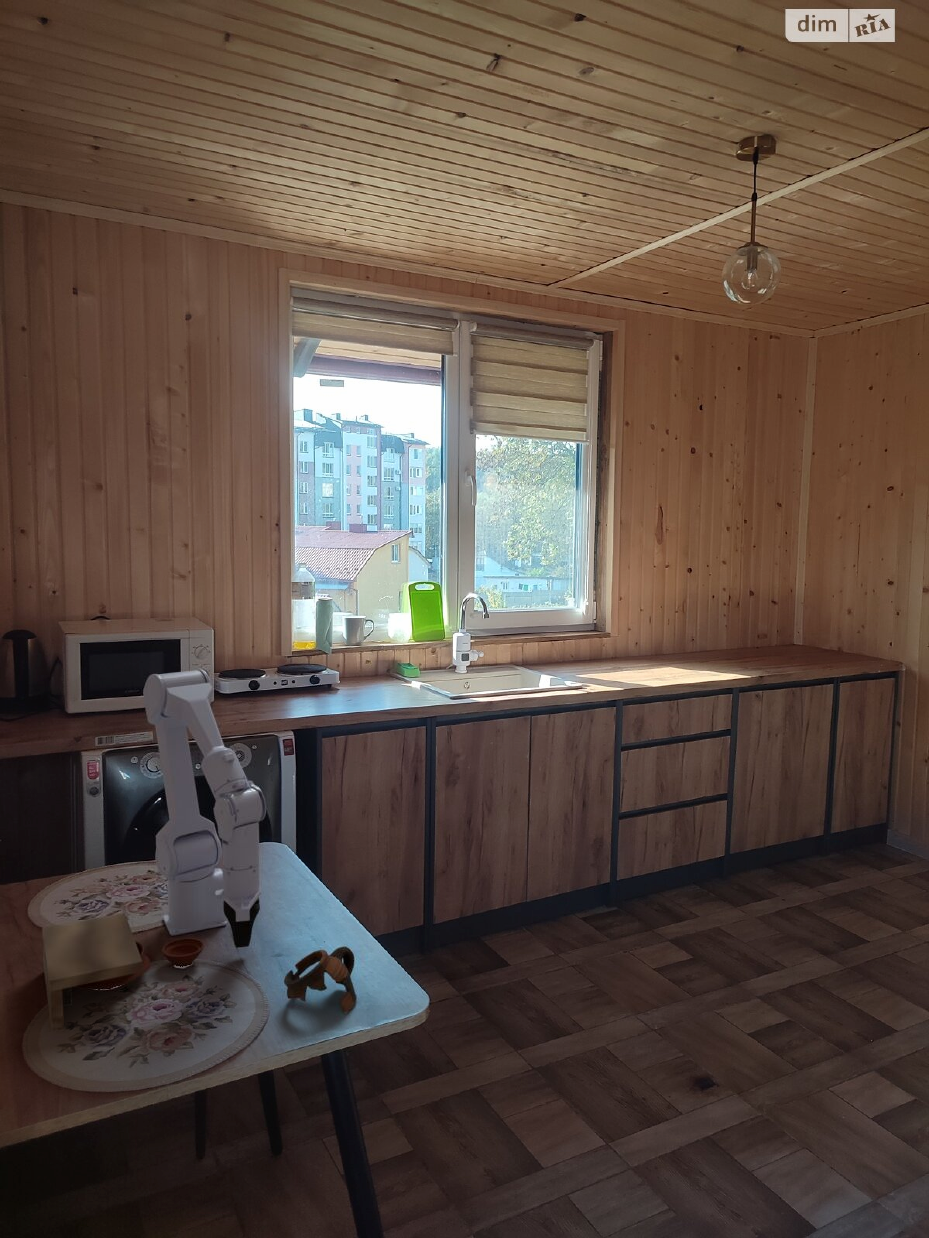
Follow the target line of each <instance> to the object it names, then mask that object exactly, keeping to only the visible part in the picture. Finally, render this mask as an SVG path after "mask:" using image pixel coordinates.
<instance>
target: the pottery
mask: <svg viewBox="0 0 929 1238" xmlns="http://www.w3.org/2000/svg"><path fill="white" fill-rule="evenodd" d="M135 943H136V945H137V948H138V951H139V954H140V956H141V959H142V967H143V972H138V973H133V974H129V975H124V976H120V977H115V978H110V979H106V980H101V981H96V982H92V983H87V984H83V985H78V986H75V987H77V988H80V989H83V990H84V989H85V990H93V989H98V990H100V989H111V988H113V987H116V986H120V985H123V984H125V985H127V984H128V983H130V982H133V981H135V980H137V979H138V978H140V977H142V976H143V975H145V973H147V971H148V970H149V968H150V966H151V961H150V958H149V956H147V955H146V954H145V947H144V945H143V944H142V943H140V942H139V941H137V940H135ZM204 948H205V943H204V941H203V940H201V939H200V938H196V937H195V938H194V937H181V938H177V939H174V940H171V941H169V942H167V943H165V944H164V945H163V946H162V947H161V953H162V955H163V957H165V958H166V959H167V960H168V961H169V962H170V963H172V964H173V966H174V965H176V966H180V967H181V966H182V967H183V966H187V965H191V964H192V962H193V963H194V961H195V960H196V959H197V958H199V956H200V954H201V953H202V952H203V950H204ZM123 986H124V985H123Z"/></svg>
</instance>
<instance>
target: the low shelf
mask: <svg viewBox="0 0 929 1238" xmlns="http://www.w3.org/2000/svg"><path fill="white" fill-rule="evenodd" d="M41 932H42V933H41V934H42V956H43V975H44V980H45V981H44V982H45V988H46V989H45V990H46V999H47V1005H48V1013H49V1019H50V1027H51V1030H57V1029H61V1028H63V1027H65V1026H64V1008H63V1007H65V1006H70V1005H72V1004H73V1001H72V1000H73V999H72V987H76V986H78V985H83V984H87V983H92V982H96V981H101V980H106V979H110V978H115V977H120V976H124V975H129V974H133V973H138V972H143V967H142V959H141V956H140V954H139V951H138V948H137V945H136V943H135V941H136V939H135V937H134V934H133V932H132V929H131V926H130V924H129V921H128V918H127V916H126V913H125V912H121V913H117V914H112V915H106V916H102V917H96V918H91V919H85V920H80V921H75V922H69V923H63V924H58V925H54V926H47V927H42V928H41Z"/></svg>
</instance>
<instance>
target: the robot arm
mask: <svg viewBox="0 0 929 1238" xmlns="http://www.w3.org/2000/svg"><path fill="white" fill-rule="evenodd" d="M144 684H145V685H144V688H143V690H142V691H143V692H142V693H143V701H144V707H145V714H146V717H147V722H148V723H149V724H151V725H153V726H155V727H154V728H155V732H156V739H157V745H158V752H159V759H160V765H161V773H162V778H163V779H162V780H163V786H164V791H165V792H164V793H165V798H166V805H167V812H168V818H169V819H168V821H167V822H166V823H165V824H164V825H163V827H162V828H161V829H160V830H159V831H158V832H157V834H156V835H155V845H156V846H155V847H156V849H155V855H154V856H155V858H154V859H155V863H156V868H157V870H158V872H159V874H160V875H162V876H163V877H164V878H165V879H166V880H167V903H168V904H167V906H168V907H167V908H168V909H167V910H168V914H164V915H163V916H162V919H163V922H164V924H165V927H166V928H167V930H168V932H169V935H171V936H178V935H183V934H188V933H192V932H197V931H198V932H199V931H202V930H208V929H213V928H217V927H222V926H226V925H228V923H229V925H230V929H231V935H232V939H233V943H234V946H235V948H237V949H238V948H246V947H247V948H248V947H250V943H251V939H252V933H253V927H254V923H255V921H256V917H257V916H258V914H259V912H260V909H261V904H260V896H261V895H262V888H261V885H260V883H261V882H260V829H259V828H260V824H259V823H260V822H262V821H263V820H264V819H265V817H266V814H267V803H266V798H265V796H264V793H263V791H262V790H261V788H260V787H259V786H258V785H255V784H254V782H253V781H252V780H248V778H247V775H246V774H245V771H244V769H243V767H242V765H241V763H240V760H239V758H238V756H237V754H236V752H235V751H234V750H233V749H231V748H229V747H225V743H224V741H223V739H222V736H221V732H220V730H219V728H218V727H219V726H218V724H217V721H216V719H215V716H214V712H213V709H212V707H211V703H212V699H213V686H212V681H211V678H210V676H209V675H208V673H207V672H206V671H205V670H204V669H202V668H196V669H195V670H194V669H193V670H186V671H179V672H178V671H177V672H168V673H161V674H158V673H153V674H150V675H149V676H148V678H147V679H146V681H145V683H144ZM187 729H188V730H189V733H190V734H191V736H192V738H193V739H194V740H195V743H196V745H197V746H198V748H199V750H200V751H201V754H202V755H203V758H202V761H201V764H200V768H201V770H202V772H203V775H204V776H205V779H206V782H207V784H208V785H209V788H210V791H211V792H212V795H213V797H214V800H215V803H214V807H213V814H214V819H215V821H216V824H217V830H216V827H215V826H216V825H215V823H214V821H213V822H212V821H211V820H210V819H208V818H206V817H204V816H202V815H201V814H200V808H199V807H200V806H199V801H198V794H197V789H196V788H197V787H196V781H195V775H194V768H193V762H192V756H191V749H190V742H189V735H188V731H187ZM217 833H218V834H217ZM189 834H190V835H189ZM220 839H221V840H220ZM221 857H222V858H221ZM221 859H222V861H221ZM220 861H221V863H222V868H219V867H218V868H216V867H215V866H217V865H218V864H219V863H220Z"/></svg>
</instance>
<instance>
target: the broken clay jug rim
mask: <svg viewBox="0 0 929 1238" xmlns="http://www.w3.org/2000/svg"><path fill="white" fill-rule="evenodd" d="M316 963H317V964H316ZM315 964H316V965H315ZM313 965H315V966H314V967H313V968H312V969H311V970H310V971H308V972H307V973H306V974H304V975H303V976H301V975H302V974H303V973H304V972H306V970H308V969H309V968H310V967H311V966H313ZM294 967H295V968H296V970H297V971H296V972H295V973H294V972H293V971H294V970H292V969H291V970H290V969H289V971H288V972H287V973H286V975H285V976H284V979H283V984H284V985H285V986H286V987H287V989H286V997H287V998H288V999H289V1000H290V999H291V1000H296V999H299V1000H300V1001H301V1002H304V1003H305V1002H306V1000H307V999H306V996H307V995H306V994H307V989H308V988H309V989H311V990H313V991H319V992H323V991H326V990H327V989H328V988H327V985H326V983H325V982H326V981H325V980H326V979H325V973H326V974H327V975H329V976H330V977H331V979H332V980H333V981H335V983H336V984H337V985H342V986H343V987H344V988H345V993H344V995H343V996H342V997H341V998H340V999H339V1001H338V1002H339V1004H340V1006H341V1007H342V1010H343V1012H347V1011H348V1012H349V1011H351V1010H352V1008H353V1007H354V1006H355V1004H356V1002H357V994H356V992H355V987H354V983H353V981H352V978H351V976H352V974H353V971H354V968H355V954H354V952H353V951H352V950H351V949H350V947H348V946H341V947H337V948H336V949H335V950H333V951H332V952H331V953H330V954H328V952H327V951H326V950H325V949H318V950H315V951H313V952H311V953H309V954H306V956H305V957H303V958H302V959H300V960H299V961H298V962H297V963H295V966H294ZM300 976H301V977H300ZM348 1012H347V1013H348Z"/></svg>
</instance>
